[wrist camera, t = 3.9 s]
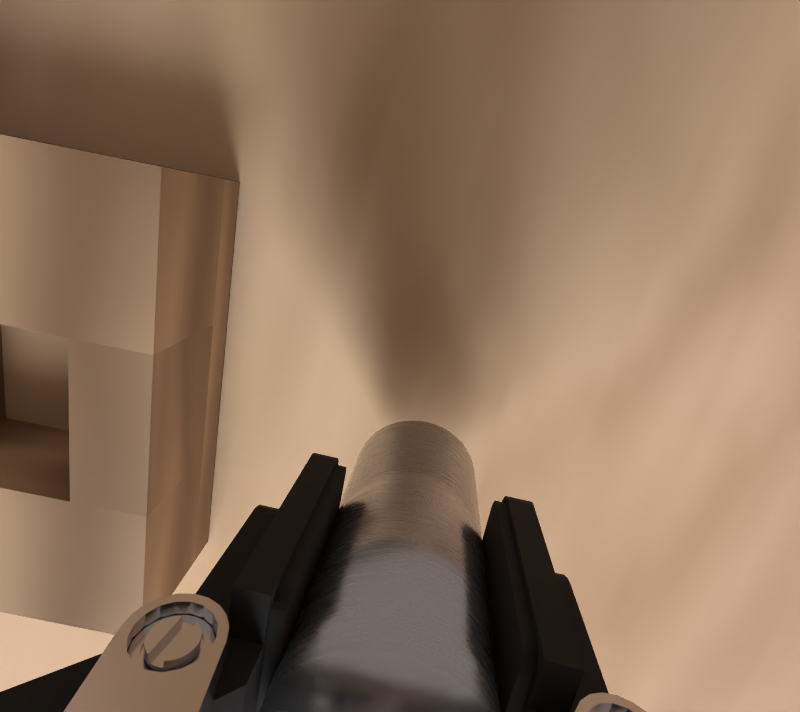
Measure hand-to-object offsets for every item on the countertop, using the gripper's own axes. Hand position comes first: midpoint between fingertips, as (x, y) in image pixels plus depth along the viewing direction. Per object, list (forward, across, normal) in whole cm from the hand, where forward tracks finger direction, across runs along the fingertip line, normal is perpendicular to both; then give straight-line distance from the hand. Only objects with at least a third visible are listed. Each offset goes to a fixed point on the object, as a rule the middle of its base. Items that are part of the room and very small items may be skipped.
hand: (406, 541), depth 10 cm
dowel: (+3, 0, 0) cm, 3 cm away
